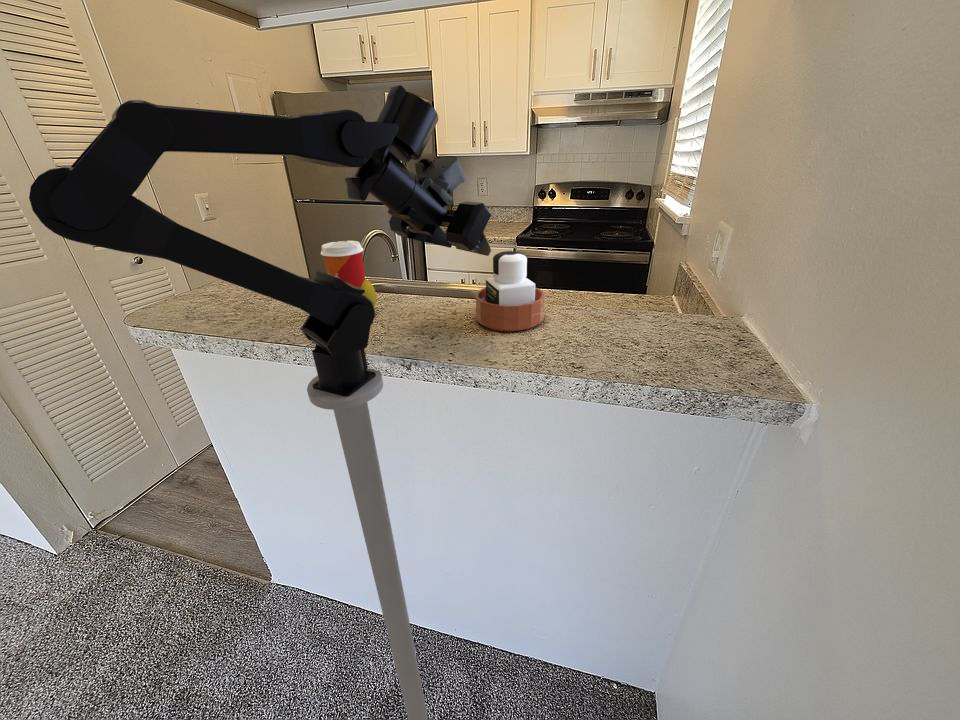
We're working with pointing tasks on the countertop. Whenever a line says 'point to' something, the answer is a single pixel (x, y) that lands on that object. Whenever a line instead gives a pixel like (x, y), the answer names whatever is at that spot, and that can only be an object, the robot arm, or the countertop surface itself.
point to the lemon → (369, 291)
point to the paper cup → (345, 261)
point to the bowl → (509, 313)
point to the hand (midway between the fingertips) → (469, 248)
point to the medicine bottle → (509, 280)
